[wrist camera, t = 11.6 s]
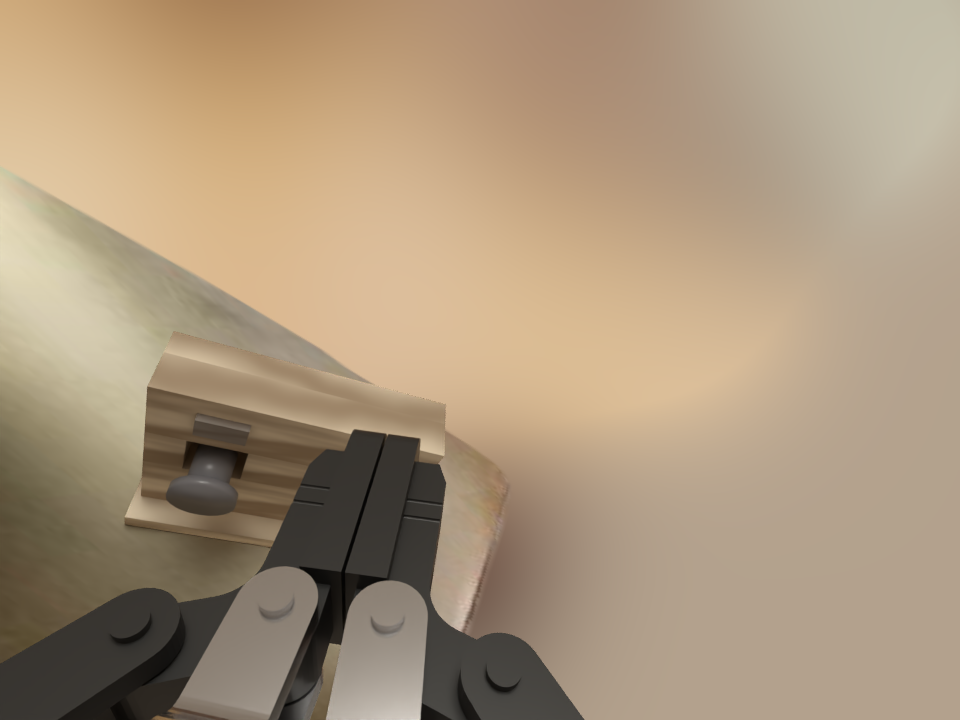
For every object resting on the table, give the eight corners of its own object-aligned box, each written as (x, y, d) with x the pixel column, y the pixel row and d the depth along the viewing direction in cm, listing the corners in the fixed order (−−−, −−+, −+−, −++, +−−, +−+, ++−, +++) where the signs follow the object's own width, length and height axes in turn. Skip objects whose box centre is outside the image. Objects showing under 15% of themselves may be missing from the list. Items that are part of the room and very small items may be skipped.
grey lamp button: (230, 520, 43) (239, 493, 40) (163, 508, 42) (167, 480, 38) (244, 472, 46) (254, 443, 43) (182, 460, 44) (187, 429, 41)
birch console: (375, 563, 54) (449, 480, 42) (124, 524, 47) (126, 409, 35) (383, 489, 59) (451, 396, 47) (159, 443, 52) (171, 319, 40)
